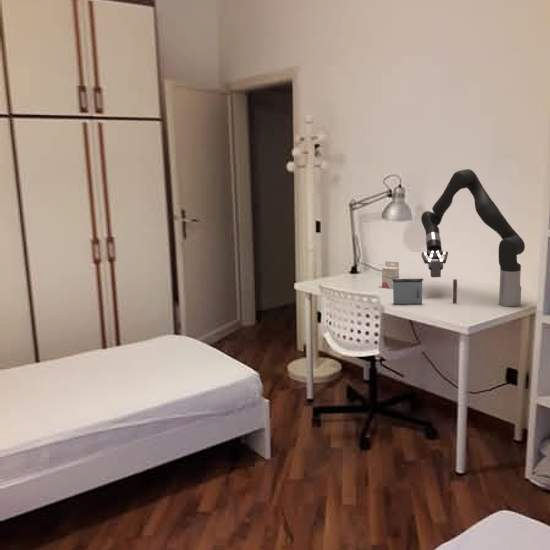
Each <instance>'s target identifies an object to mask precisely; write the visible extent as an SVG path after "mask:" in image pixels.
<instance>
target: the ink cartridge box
mask: <svg viewBox="0 0 550 550" xmlns="http://www.w3.org/2000/svg"><path fill="white" fill-rule="evenodd" d="M399 265H400V264H399V262H398V261H385V266H383V267H381V276H382V277H381V288H383V289H384V288H385V289H391V288H393V281H392V279H400V267H399Z"/></svg>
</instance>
